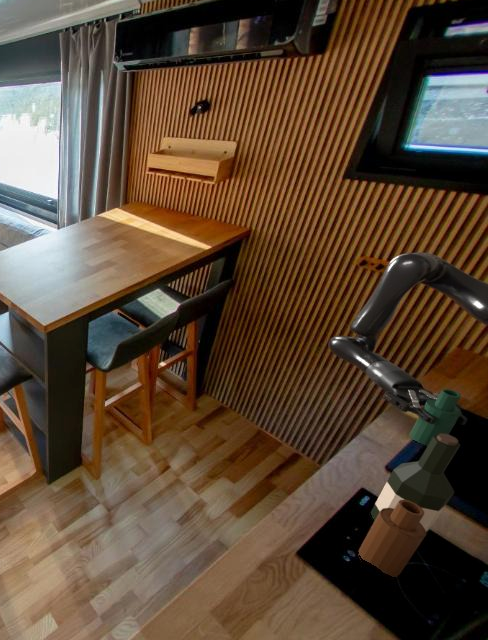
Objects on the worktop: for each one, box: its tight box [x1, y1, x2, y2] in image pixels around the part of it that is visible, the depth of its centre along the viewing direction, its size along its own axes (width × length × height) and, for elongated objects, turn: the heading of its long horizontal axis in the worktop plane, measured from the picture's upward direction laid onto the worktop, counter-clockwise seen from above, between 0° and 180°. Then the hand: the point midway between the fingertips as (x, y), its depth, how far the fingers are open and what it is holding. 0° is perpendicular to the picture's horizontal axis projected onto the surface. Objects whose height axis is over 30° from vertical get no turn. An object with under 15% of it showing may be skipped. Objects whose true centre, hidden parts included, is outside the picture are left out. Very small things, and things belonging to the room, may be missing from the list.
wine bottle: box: [370, 433, 461, 535], centre depth 79 cm, size 8×8×30 cm
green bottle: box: [409, 388, 462, 446], centre depth 98 cm, size 6×6×18 cm
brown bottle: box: [358, 500, 427, 578], centre depth 76 cm, size 6×6×20 cm
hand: (448, 421), depth 95 cm, fingers closed on green bottle, 5 cm apart
